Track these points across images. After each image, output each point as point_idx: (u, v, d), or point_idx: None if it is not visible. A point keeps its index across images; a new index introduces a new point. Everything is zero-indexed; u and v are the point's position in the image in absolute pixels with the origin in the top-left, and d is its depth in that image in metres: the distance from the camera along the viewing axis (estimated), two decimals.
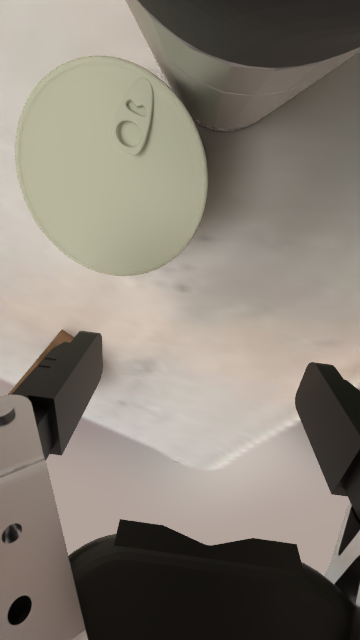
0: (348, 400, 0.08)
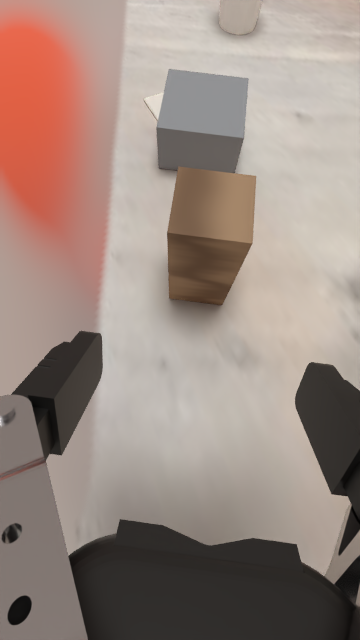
0: (348, 400, 0.08)
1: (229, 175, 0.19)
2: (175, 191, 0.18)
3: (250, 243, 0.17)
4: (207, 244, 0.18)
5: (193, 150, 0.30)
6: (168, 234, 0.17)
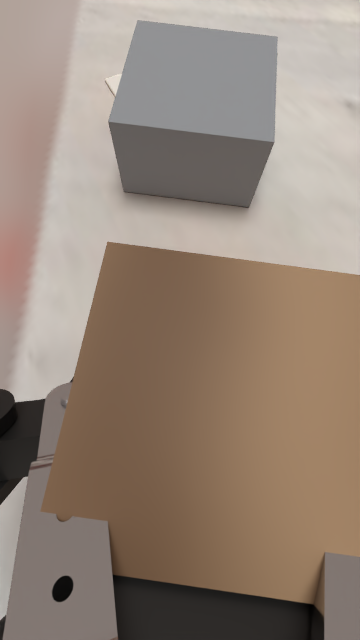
0: None
1: (279, 273, 0.05)
2: (87, 342, 0.05)
3: None
4: None
5: (180, 164, 0.17)
6: None
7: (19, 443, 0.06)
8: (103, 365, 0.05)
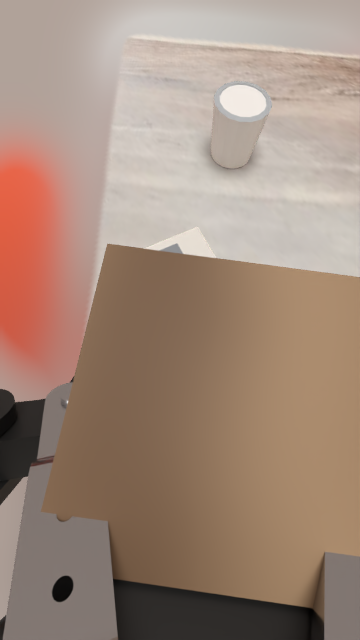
0: None
1: (280, 275, 0.05)
2: (86, 345, 0.05)
3: None
4: None
5: None
6: None
7: (19, 443, 0.06)
8: (103, 368, 0.05)
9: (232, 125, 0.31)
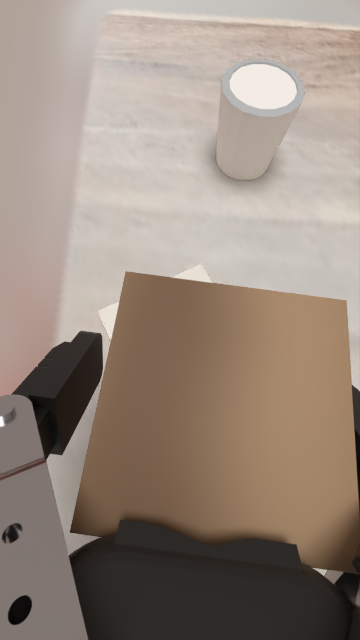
0: None
1: (269, 297, 0.07)
2: (111, 357, 0.06)
3: (355, 572, 0.05)
4: None
5: None
6: None
7: None
8: (125, 376, 0.06)
9: (248, 121, 0.22)
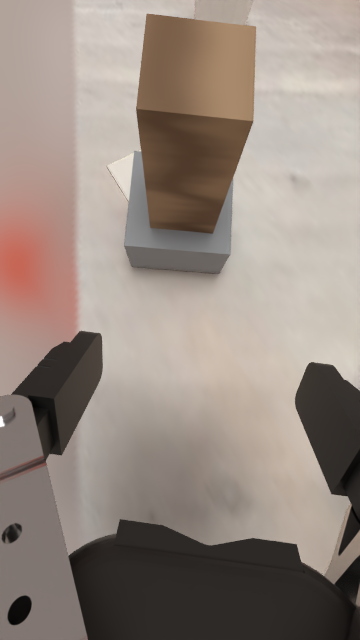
0: (348, 400, 0.08)
1: (218, 25, 0.13)
2: (144, 50, 0.13)
3: (250, 121, 0.13)
4: (192, 128, 0.13)
5: (171, 259, 0.25)
6: (138, 112, 0.13)
7: None
8: (151, 57, 0.13)
9: None
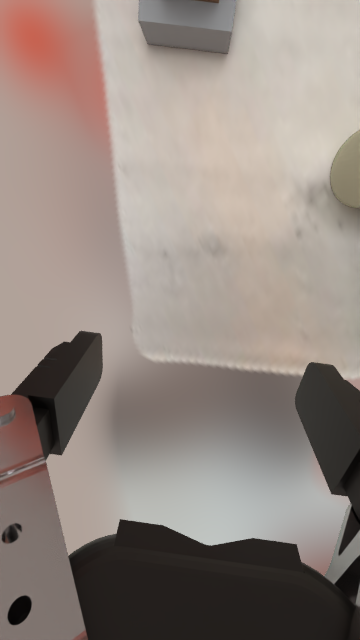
0: (348, 400, 0.08)
1: None
2: None
3: None
4: None
5: (181, 35, 0.28)
6: None
7: None
8: None
9: None
